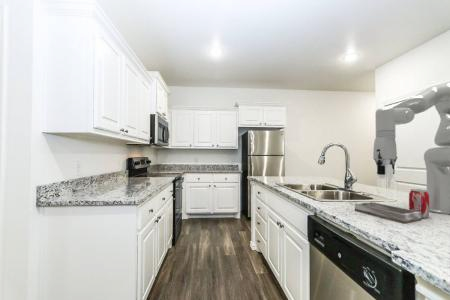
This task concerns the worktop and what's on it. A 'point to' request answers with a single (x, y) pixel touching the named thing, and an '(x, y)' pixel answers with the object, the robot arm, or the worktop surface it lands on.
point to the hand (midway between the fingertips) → (385, 173)
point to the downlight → (387, 171)
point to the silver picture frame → (389, 212)
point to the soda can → (419, 201)
